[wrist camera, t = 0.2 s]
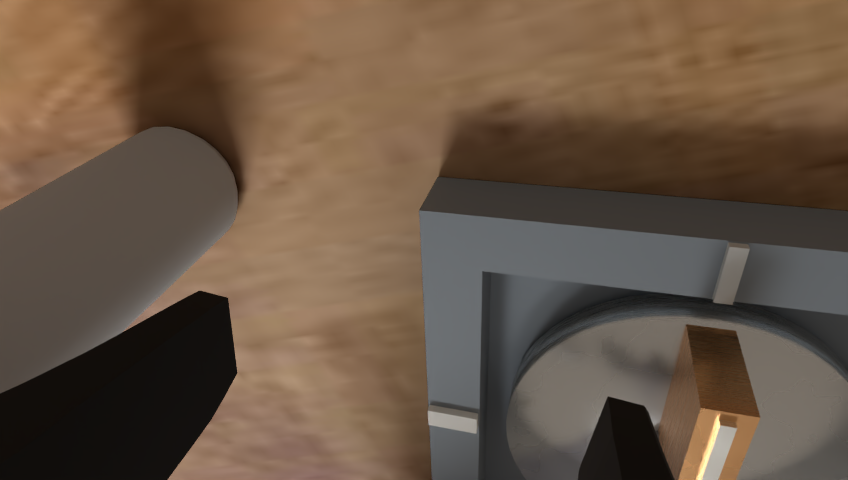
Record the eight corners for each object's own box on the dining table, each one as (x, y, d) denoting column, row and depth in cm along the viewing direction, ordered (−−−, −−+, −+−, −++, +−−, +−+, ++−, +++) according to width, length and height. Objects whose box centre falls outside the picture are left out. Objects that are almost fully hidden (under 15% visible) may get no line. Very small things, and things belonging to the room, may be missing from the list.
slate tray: (851, 586, 25) (874, 655, 23) (446, 497, 29) (433, 548, 27) (1089, 231, 16) (1168, 290, 13) (438, 176, 20) (416, 215, 18)
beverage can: (215, 110, 21) (-134, 323, 11) (265, 226, 23) (13, 488, 13) (115, 130, 22) (-265, 330, 13) (171, 236, 25) (-115, 476, 15)
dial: (800, 549, 24) (840, 691, 19) (505, 487, 26) (486, 600, 22) (924, 320, 17) (1023, 460, 13) (518, 272, 20) (495, 374, 16)
